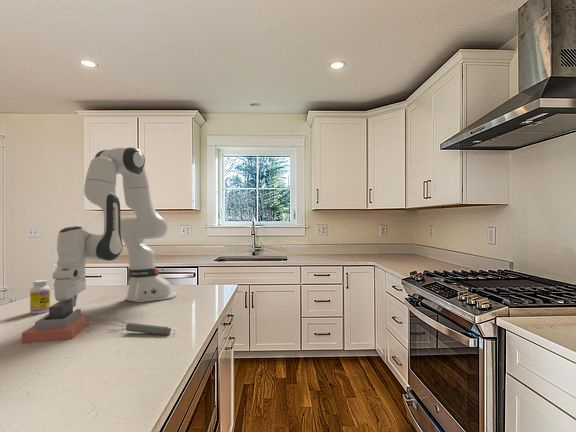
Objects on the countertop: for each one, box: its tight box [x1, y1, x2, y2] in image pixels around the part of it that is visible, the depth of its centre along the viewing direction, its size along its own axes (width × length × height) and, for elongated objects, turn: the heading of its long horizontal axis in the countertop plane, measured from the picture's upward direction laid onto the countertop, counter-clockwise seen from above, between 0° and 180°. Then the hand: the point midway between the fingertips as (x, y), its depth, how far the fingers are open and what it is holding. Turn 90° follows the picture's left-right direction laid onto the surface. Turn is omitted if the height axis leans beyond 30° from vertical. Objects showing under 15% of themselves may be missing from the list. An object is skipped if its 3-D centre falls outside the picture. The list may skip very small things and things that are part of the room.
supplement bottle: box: [29, 279, 51, 315], centre depth 142 cm, size 7×7×13 cm
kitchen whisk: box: [81, 312, 175, 336], centre depth 115 cm, size 6×34×6 cm, turn 80°
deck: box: [21, 308, 90, 344], centre depth 116 cm, size 14×16×6 cm
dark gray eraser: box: [48, 300, 74, 320], centre depth 119 cm, size 4×9×6 cm, turn 13°
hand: (72, 307), depth 128 cm, fingers closed
